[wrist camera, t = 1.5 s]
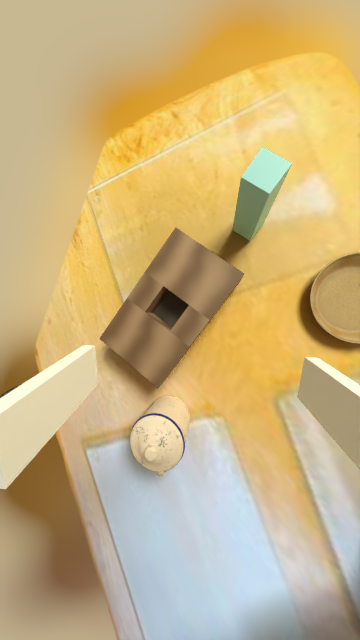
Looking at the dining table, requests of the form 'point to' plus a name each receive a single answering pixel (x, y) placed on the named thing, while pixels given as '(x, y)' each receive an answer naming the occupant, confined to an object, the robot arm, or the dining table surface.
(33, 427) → the robot arm
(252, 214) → the peg
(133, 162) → the dining table surface
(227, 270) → the hole board
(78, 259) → the dining table surface
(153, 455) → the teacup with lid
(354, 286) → the plant saucer
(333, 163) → the dining table surface
